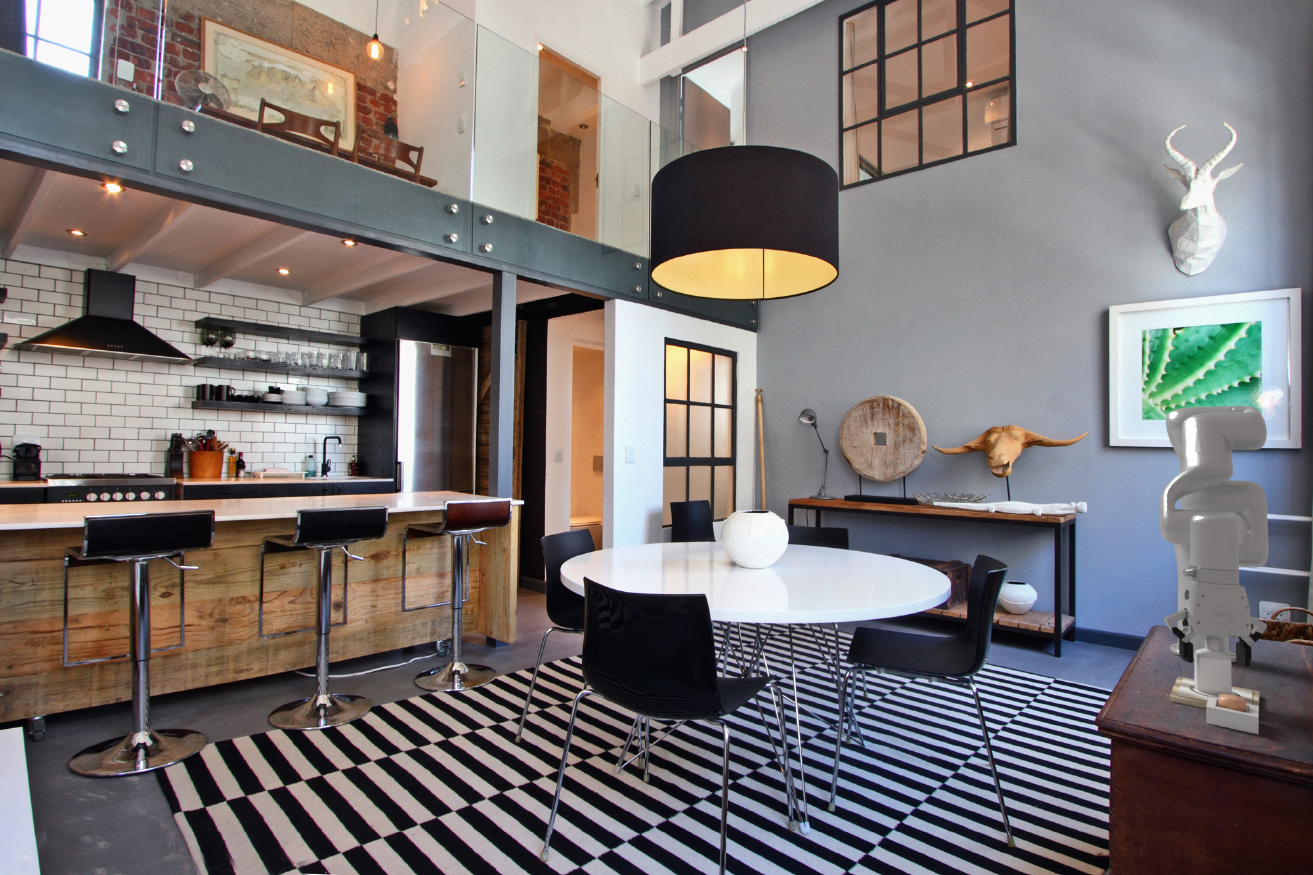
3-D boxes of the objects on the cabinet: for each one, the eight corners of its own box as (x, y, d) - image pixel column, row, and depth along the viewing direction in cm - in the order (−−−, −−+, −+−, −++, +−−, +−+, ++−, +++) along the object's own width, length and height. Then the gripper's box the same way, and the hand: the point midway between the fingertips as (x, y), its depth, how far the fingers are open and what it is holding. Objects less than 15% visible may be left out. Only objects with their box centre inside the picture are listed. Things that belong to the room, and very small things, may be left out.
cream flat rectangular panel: (1177, 680, 144) (1177, 674, 144) (1259, 696, 135) (1259, 689, 135) (1169, 701, 132) (1169, 694, 132) (1258, 719, 123) (1258, 712, 124)
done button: (1219, 704, 124) (1219, 692, 125) (1246, 710, 122) (1246, 697, 122) (1218, 710, 122) (1218, 697, 122) (1246, 716, 119) (1246, 703, 119)
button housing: (1208, 712, 127) (1208, 696, 127) (1258, 722, 122) (1258, 705, 122) (1206, 723, 121) (1206, 706, 122) (1258, 734, 117) (1258, 716, 117)
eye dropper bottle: (1228, 698, 130) (1227, 636, 131) (1192, 690, 135) (1191, 629, 135) (1233, 693, 133) (1233, 632, 133) (1198, 685, 138) (1197, 626, 138)
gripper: (1175, 577, 132) (1175, 665, 132) (1278, 582, 129) (1278, 672, 129) (1155, 571, 140) (1155, 654, 139) (1252, 575, 136) (1252, 660, 136)
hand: (1214, 662), depth 134 cm, fingers open, 9 cm apart
